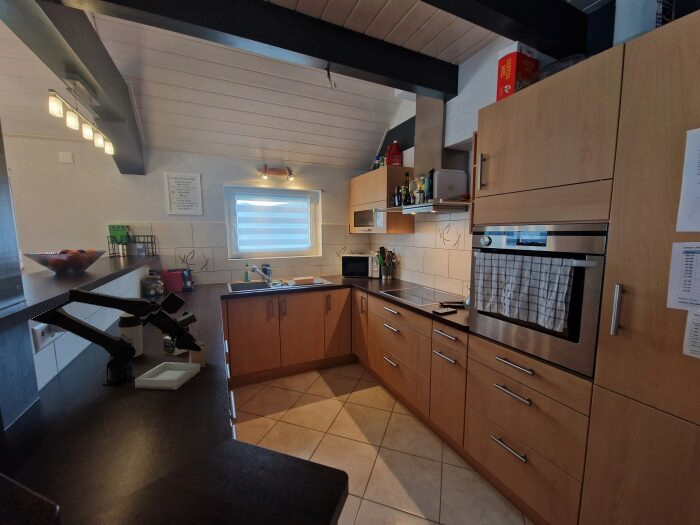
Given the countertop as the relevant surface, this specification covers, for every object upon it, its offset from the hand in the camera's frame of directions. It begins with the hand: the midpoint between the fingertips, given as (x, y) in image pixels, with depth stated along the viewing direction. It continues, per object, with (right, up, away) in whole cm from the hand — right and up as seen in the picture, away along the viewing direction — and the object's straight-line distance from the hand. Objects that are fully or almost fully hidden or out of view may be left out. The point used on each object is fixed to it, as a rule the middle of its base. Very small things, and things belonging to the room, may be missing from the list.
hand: (198, 346), depth 114 cm
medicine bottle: (-17, -6, +14) cm, 23 cm away
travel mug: (-33, -6, +8) cm, 35 cm away
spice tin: (-1, -7, 0) cm, 7 cm away
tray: (-4, -8, -12) cm, 15 cm away
